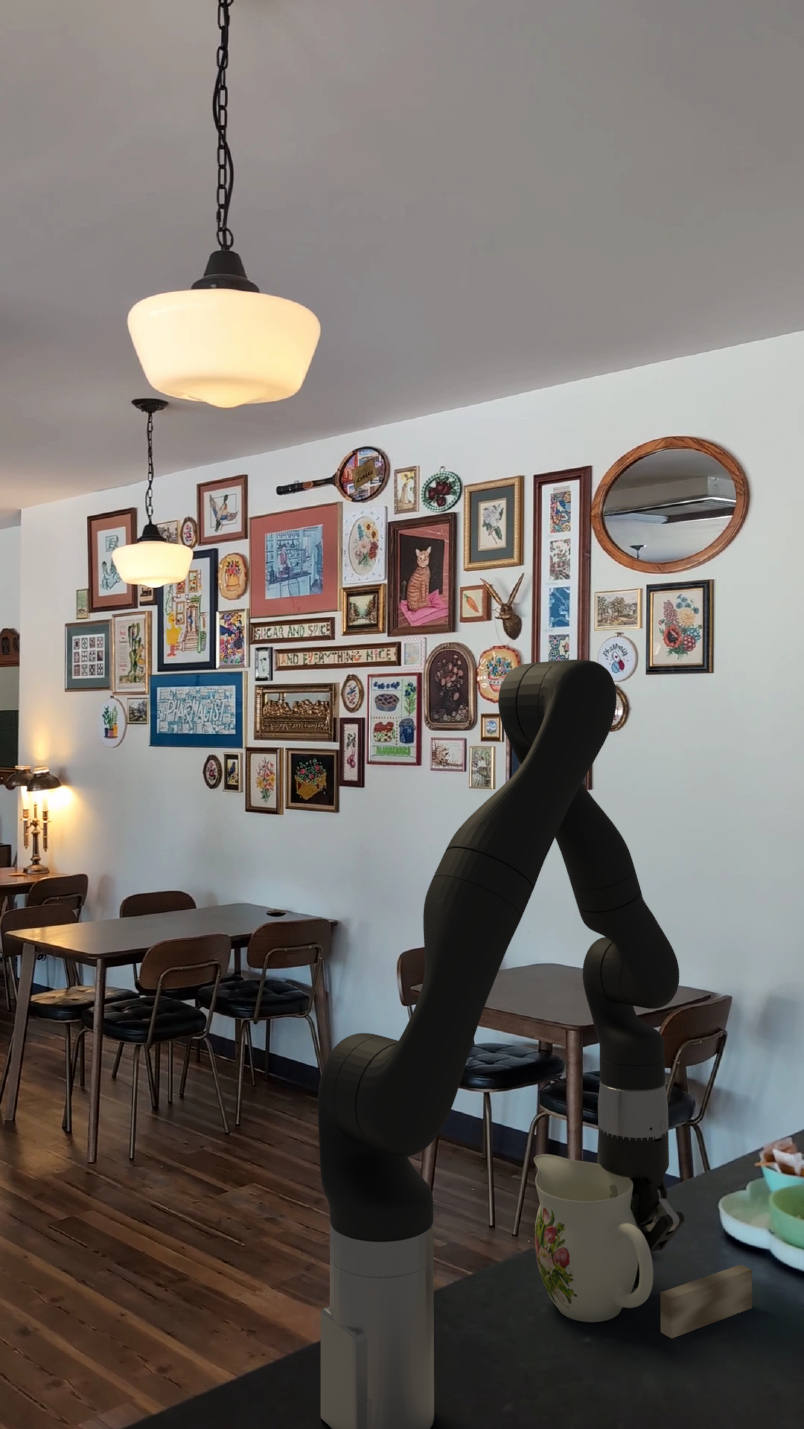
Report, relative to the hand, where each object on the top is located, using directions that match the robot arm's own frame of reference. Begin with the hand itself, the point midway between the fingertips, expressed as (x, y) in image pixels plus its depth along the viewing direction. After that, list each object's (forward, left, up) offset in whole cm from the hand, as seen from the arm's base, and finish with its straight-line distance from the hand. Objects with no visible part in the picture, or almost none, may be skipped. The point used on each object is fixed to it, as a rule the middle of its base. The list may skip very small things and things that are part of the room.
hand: (636, 1284), depth 126 cm
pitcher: (-6, 0, -1) cm, 6 cm away
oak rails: (+2, 0, -1) cm, 3 cm away
